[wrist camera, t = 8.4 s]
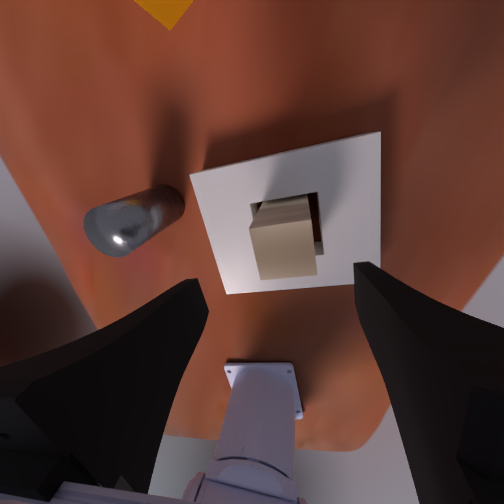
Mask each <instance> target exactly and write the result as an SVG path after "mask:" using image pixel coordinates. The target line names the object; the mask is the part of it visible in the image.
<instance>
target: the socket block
mask: <svg viewBox="0 0 504 504" xmlns="http://www.w3.org/2000/svg"><path fill="white" fill-rule="evenodd" d="M190 178H191V182H192V185H193V188H194V191H195V194H196V198H197V201H198V204H199V207H200V211H201V214H202V217H203V220H204V223H205V227H206V230H207V233H208V236H209V240H210V243H211V246H212V249H213V252H214V256H215V259H216V262H217V265H218V268H219V272H220V275H221V278H222V281H223V285H224V288H225V291H226V294H236V293H249V292H261V291H273V290H285V289H298V288H310V287H322V286H334V285H347V284H354V270H353V263H356V262H366V261H370V262H371V263H373V264H374V265H376V266H377V267H379V268H380V221H381V132H369V133H364V134H360V135H355V136H351V137H346V138H342V139H338V140H333V141H329V142H324V143H320V144H315V145H311V146H307V147H302V148H298V149H293V150H289V151H284V152H280V153H276V154H271V155H267V156H262V157H258V158H254V159H249V160H245V161H240V162H236V163H231V164H227V165H223V166H218V167H214V168H209V169H205V170H201V171H198V172H195V173H193V174H190ZM313 192H316V196H317V206H318V215H319V225H320V234H321V241H319V242H314V248H315V257H316V266H317V275H315V276H304V277H292V278H281V279H270V280H260V276H259V272H258V267H257V263H256V259H255V254H254V250H253V245H252V241H251V237H250V232H249V227H250V225H251V223H252V221H253V220H254V218H255V216H256V214H257V212H258V206H257V202H262V201H268V200H273V199H279V198H285V197H290V196H296V195H301V194H307V193H313Z"/></svg>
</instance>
